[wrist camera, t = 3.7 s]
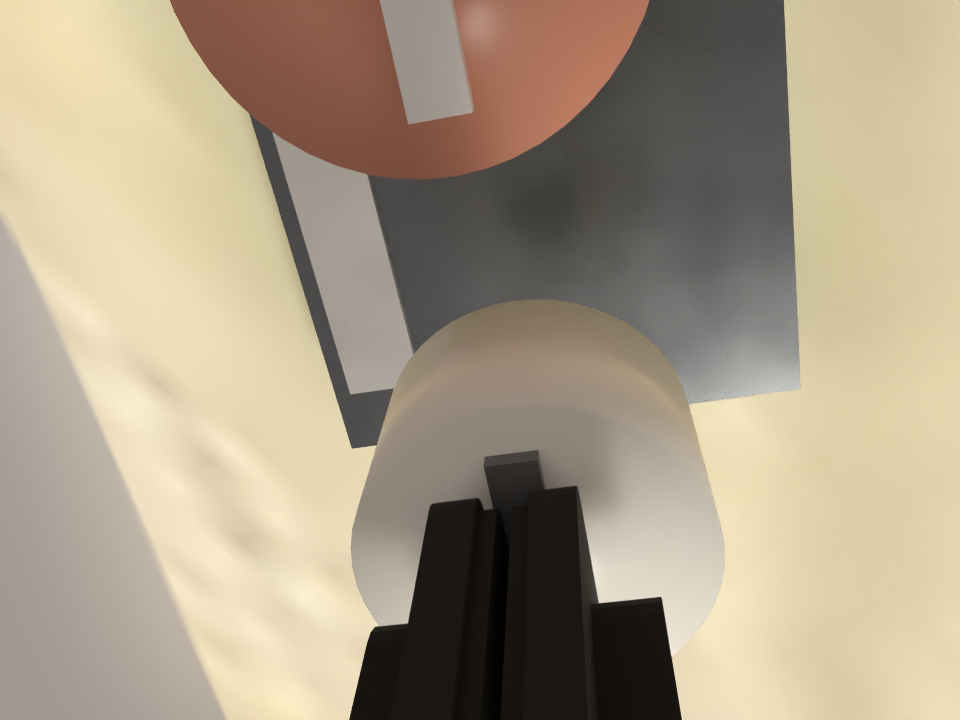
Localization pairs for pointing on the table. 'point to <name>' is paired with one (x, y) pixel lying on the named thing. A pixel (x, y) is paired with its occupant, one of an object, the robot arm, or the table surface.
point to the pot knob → (412, 74)
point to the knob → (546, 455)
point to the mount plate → (579, 221)
